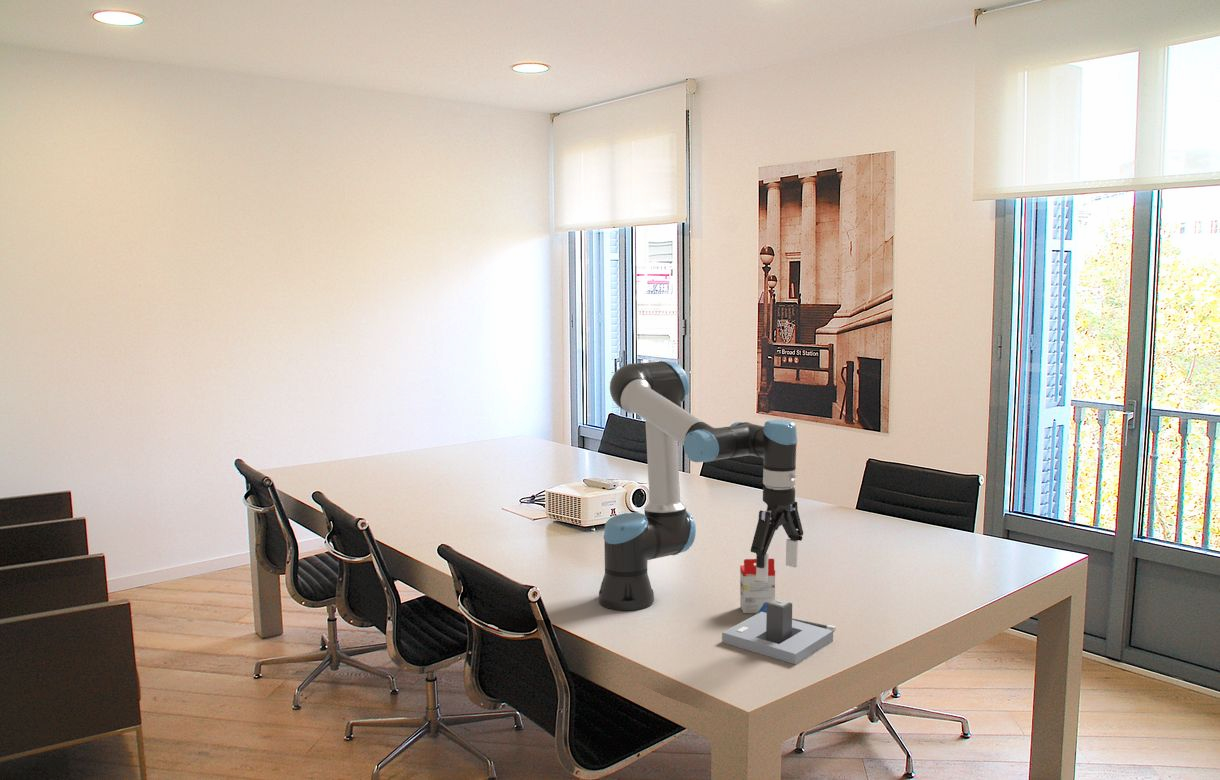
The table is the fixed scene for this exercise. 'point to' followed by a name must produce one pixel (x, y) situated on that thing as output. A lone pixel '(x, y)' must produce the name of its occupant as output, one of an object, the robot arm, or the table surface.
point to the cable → (818, 625)
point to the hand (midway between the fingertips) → (777, 573)
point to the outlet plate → (791, 650)
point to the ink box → (756, 587)
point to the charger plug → (779, 621)
